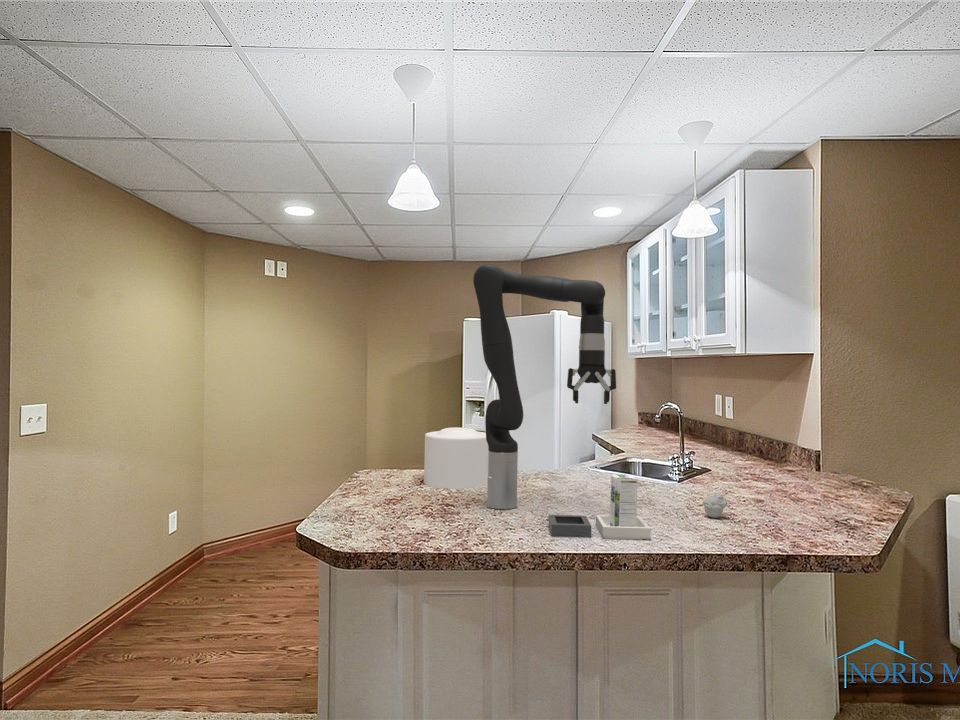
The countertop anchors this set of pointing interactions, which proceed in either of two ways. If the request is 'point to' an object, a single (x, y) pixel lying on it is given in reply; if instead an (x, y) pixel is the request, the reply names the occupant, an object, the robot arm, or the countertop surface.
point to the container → (456, 458)
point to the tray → (622, 529)
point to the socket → (569, 526)
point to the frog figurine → (715, 505)
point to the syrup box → (623, 500)
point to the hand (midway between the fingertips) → (591, 403)
